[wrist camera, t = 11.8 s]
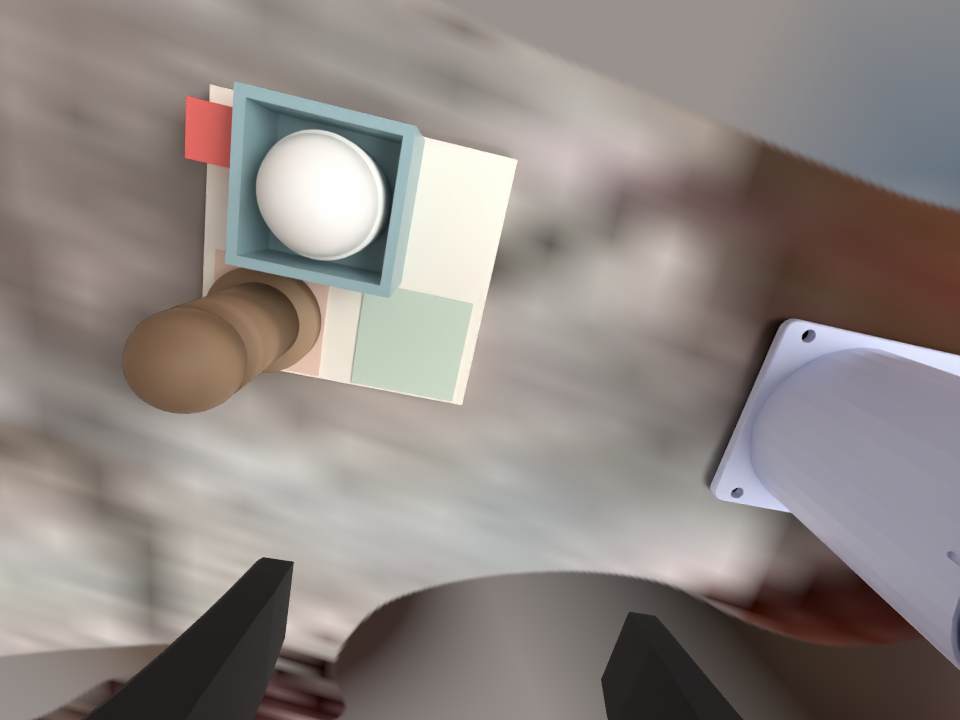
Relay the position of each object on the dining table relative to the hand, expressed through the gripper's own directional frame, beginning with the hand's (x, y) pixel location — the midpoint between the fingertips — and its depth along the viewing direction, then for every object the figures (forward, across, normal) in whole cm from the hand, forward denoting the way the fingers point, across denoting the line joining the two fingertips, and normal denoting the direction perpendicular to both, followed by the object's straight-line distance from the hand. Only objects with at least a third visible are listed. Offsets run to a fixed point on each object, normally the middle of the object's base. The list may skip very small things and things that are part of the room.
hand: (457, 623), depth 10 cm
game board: (+9, +5, -6) cm, 12 cm away
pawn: (+8, +8, -3) cm, 12 cm away
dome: (+8, +5, -8) cm, 12 cm away
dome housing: (+9, +6, -8) cm, 13 cm away
